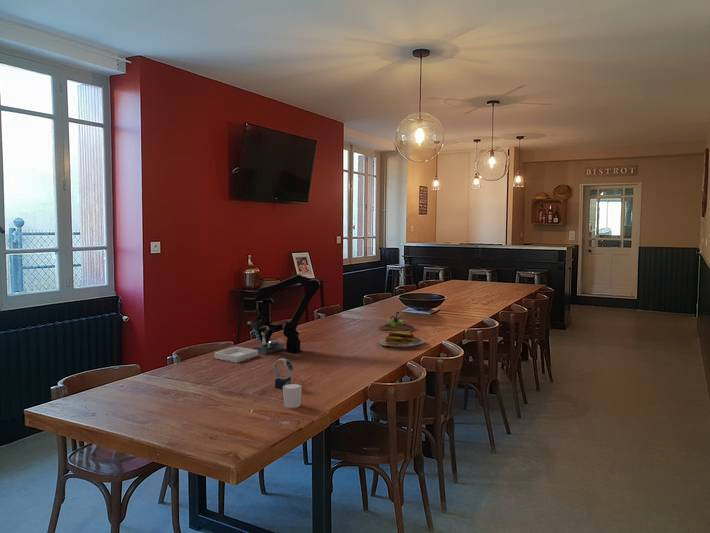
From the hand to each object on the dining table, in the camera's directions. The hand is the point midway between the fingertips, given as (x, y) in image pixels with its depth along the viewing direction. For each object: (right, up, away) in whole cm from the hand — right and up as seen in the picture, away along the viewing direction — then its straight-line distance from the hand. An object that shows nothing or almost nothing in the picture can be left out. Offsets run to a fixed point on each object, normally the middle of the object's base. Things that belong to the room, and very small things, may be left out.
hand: (264, 342), depth 271 cm
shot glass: (+23, -12, -79) cm, 83 cm away
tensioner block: (+2, -5, +3) cm, 6 cm away
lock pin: (0, -5, 0) cm, 4 cm away
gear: (-5, -3, +27) cm, 28 cm away
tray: (-12, -6, -11) cm, 17 cm away
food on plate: (+70, -4, +16) cm, 72 cm away
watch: (+17, -10, -56) cm, 60 cm away
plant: (+71, -1, +57) cm, 91 cm away
